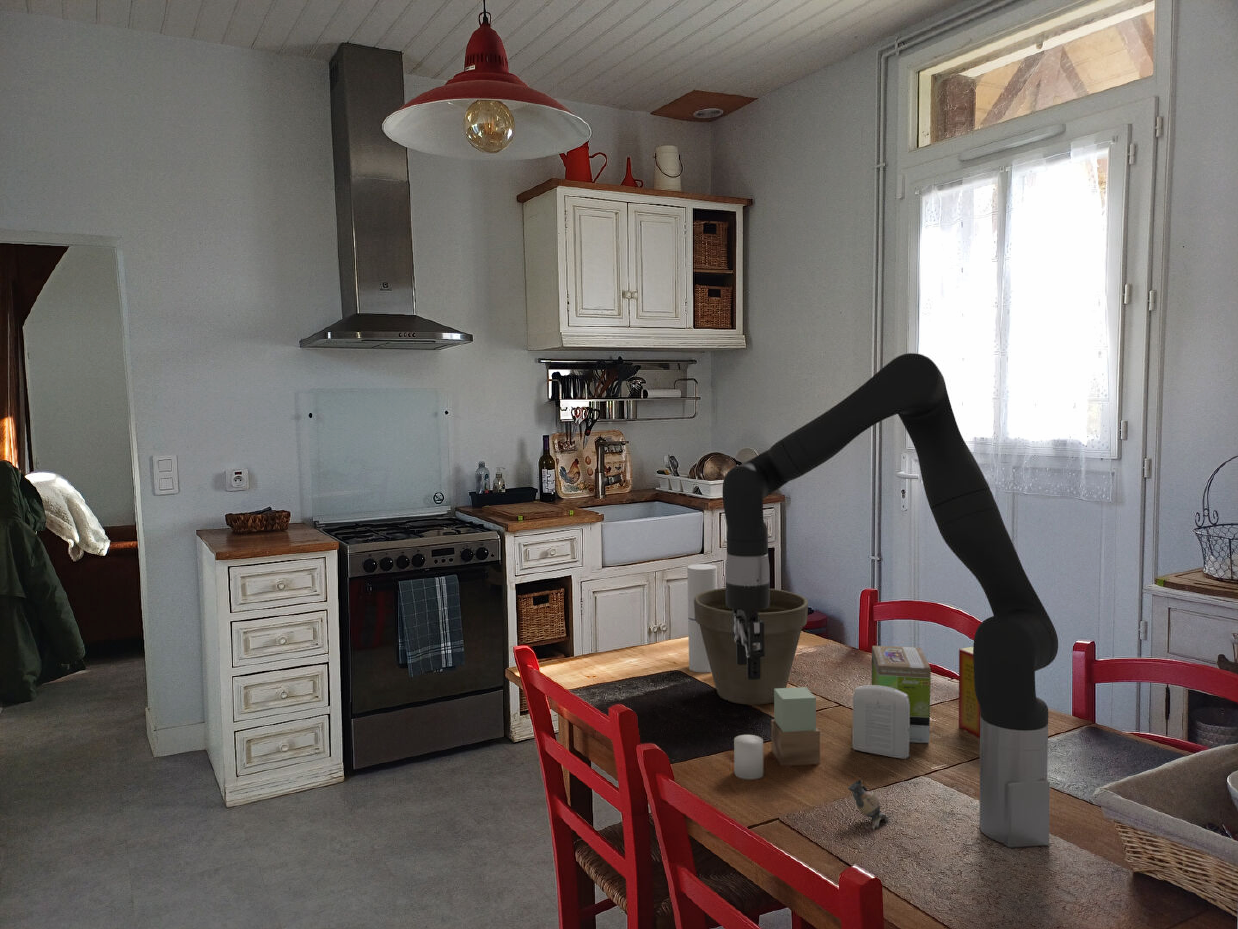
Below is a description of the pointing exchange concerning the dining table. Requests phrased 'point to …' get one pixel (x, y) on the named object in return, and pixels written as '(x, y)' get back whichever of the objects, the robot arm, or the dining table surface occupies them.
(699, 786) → the dining table surface
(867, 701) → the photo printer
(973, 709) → the baking soda box
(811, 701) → the tower top
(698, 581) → the cylindrical container
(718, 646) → the plant pot
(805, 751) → the tower base
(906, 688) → the tea box
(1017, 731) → the robot arm
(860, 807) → the animal figurine
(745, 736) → the white cylinder peg
